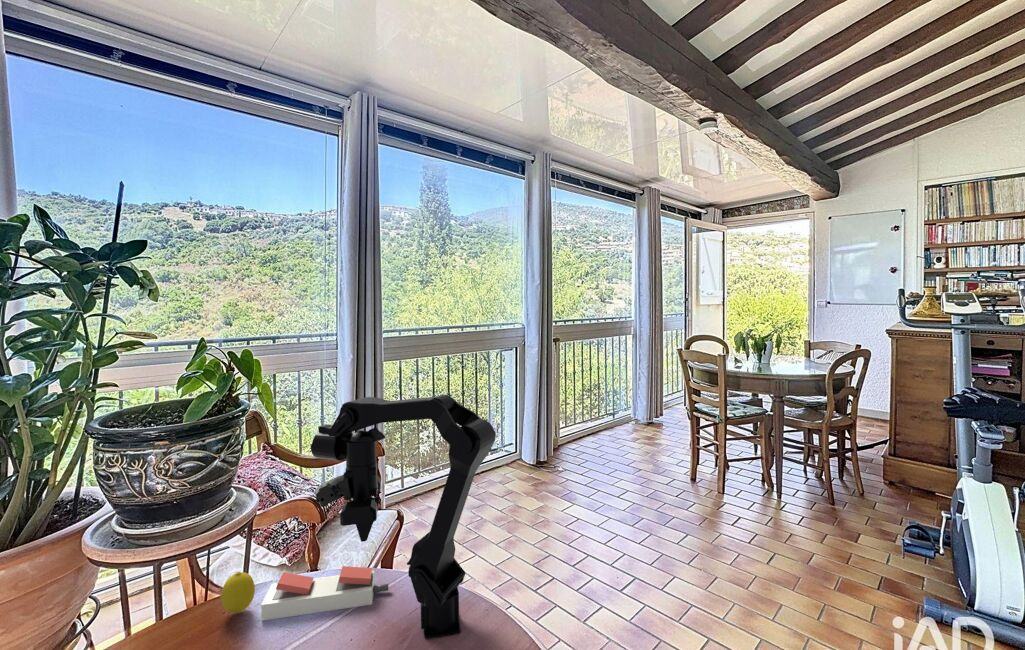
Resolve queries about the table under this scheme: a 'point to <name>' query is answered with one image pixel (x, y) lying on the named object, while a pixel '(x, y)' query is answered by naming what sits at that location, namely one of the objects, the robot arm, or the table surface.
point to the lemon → (238, 592)
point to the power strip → (318, 598)
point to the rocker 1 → (294, 583)
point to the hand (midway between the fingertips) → (363, 540)
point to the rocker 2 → (355, 575)
